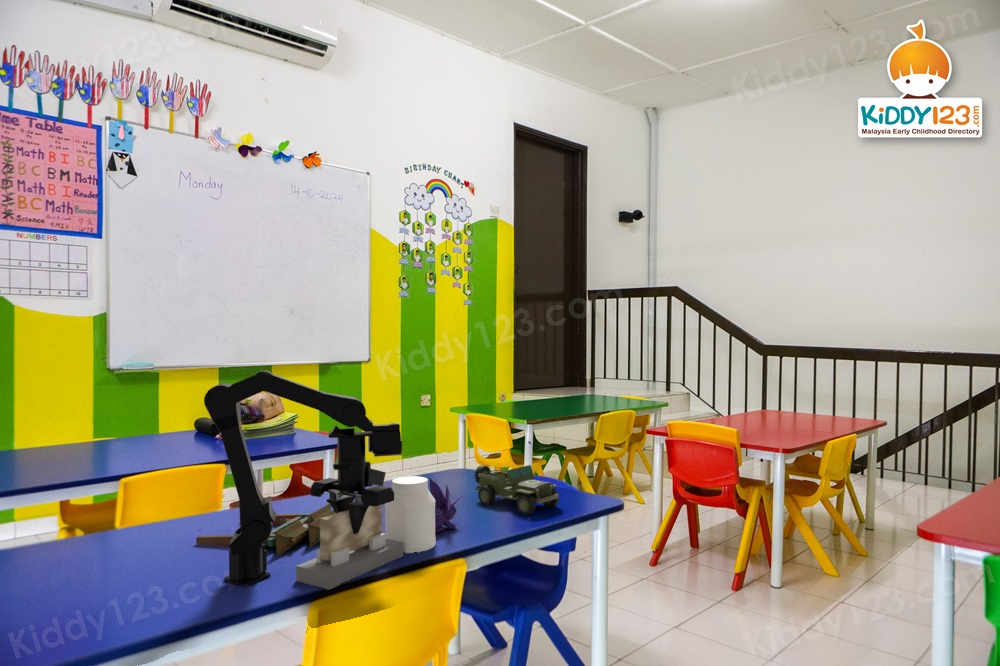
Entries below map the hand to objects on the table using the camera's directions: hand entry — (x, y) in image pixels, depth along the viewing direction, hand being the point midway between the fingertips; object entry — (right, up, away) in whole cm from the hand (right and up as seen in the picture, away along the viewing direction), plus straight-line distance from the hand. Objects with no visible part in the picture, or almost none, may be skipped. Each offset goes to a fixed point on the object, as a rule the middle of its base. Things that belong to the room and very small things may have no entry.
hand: (352, 532), depth 138 cm
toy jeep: (+35, -8, +50) cm, 61 cm away
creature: (+15, -7, +27) cm, 31 cm away
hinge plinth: (0, -7, 0) cm, 7 cm away
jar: (+10, -8, +15) cm, 19 cm away
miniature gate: (-23, -8, +23) cm, 34 cm away
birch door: (0, -3, 0) cm, 3 cm away
